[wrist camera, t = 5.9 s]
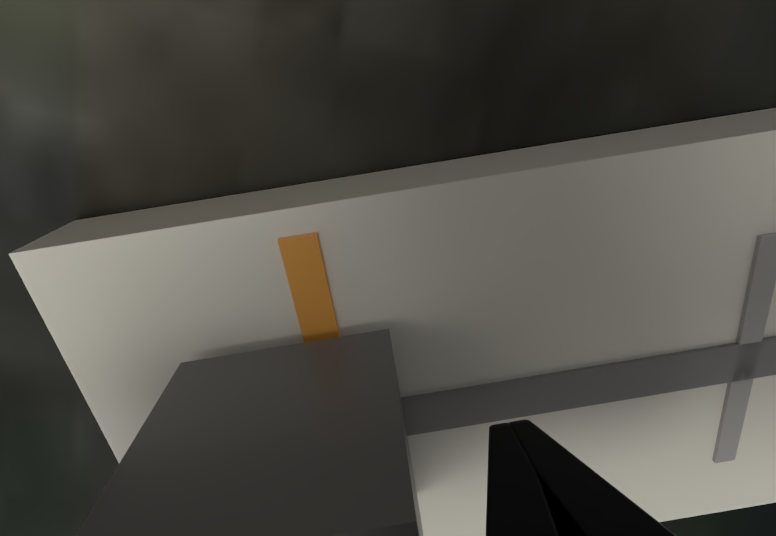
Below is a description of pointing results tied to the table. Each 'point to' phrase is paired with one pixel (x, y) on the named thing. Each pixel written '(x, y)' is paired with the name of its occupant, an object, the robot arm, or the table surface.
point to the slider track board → (473, 305)
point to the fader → (270, 448)
